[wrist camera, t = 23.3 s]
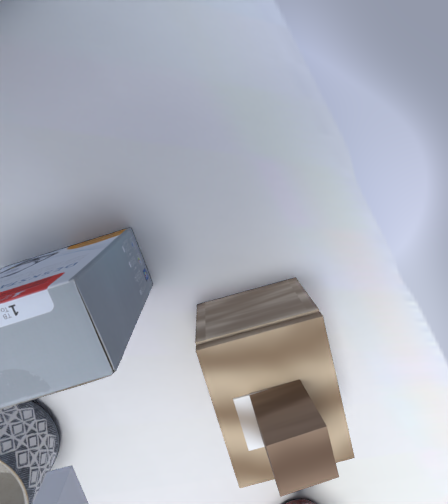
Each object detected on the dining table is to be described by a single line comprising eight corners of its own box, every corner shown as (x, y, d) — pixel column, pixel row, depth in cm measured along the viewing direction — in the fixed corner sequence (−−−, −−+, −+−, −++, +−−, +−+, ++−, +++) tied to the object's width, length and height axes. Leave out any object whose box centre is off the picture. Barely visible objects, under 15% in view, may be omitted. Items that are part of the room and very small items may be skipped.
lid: (195, 345, 39) (195, 351, 37) (319, 311, 38) (323, 317, 37) (238, 480, 43) (239, 489, 42) (351, 450, 42) (355, 459, 41)
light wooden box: (197, 304, 48) (195, 342, 39) (295, 277, 48) (318, 309, 39) (231, 418, 52) (238, 479, 43) (323, 393, 52) (350, 449, 42)
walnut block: (249, 395, 39) (266, 446, 32) (299, 379, 39) (326, 426, 32) (261, 438, 40) (280, 496, 33) (310, 422, 40) (338, 477, 33)
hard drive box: (131, 224, 46) (79, 277, 27) (154, 286, 48) (121, 378, 28) (0, 266, 46) (-145, 348, 27) (28, 326, 48) (-89, 443, 29)
